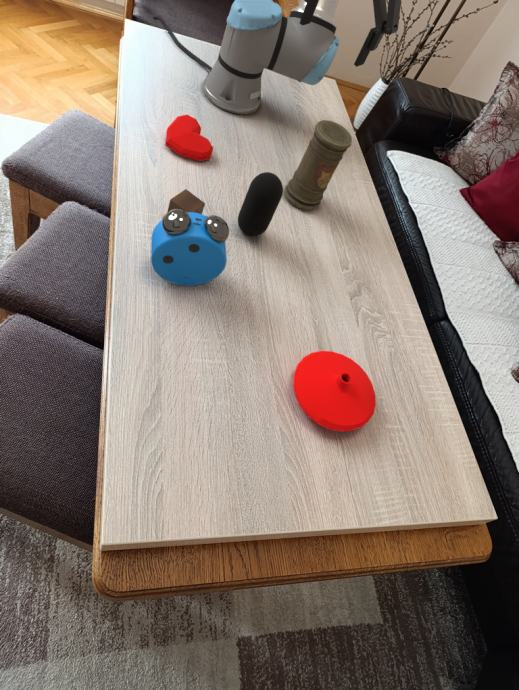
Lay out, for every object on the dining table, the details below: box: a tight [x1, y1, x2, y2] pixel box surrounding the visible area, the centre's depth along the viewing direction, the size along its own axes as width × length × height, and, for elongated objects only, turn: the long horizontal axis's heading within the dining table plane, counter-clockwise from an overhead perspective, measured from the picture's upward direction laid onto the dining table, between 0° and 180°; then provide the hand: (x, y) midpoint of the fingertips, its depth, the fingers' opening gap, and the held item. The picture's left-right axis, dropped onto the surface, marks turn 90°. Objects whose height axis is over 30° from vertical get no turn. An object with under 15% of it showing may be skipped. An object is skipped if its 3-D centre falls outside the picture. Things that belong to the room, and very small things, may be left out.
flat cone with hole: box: [292, 350, 377, 432], centre depth 87 cm, size 16×16×7 cm
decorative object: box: [237, 171, 284, 238], centre depth 101 cm, size 7×7×15 cm
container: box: [284, 119, 353, 212], centre depth 112 cm, size 9×9×18 cm
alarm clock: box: [150, 209, 230, 287], centre depth 89 cm, size 13×6×15 cm, turn 96°
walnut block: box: [166, 188, 206, 215], centre depth 100 cm, size 5×5×5 cm
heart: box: [165, 114, 214, 162], centre depth 114 cm, size 12×4×10 cm
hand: (331, 43), depth 95 cm, fingers open, 13 cm apart
